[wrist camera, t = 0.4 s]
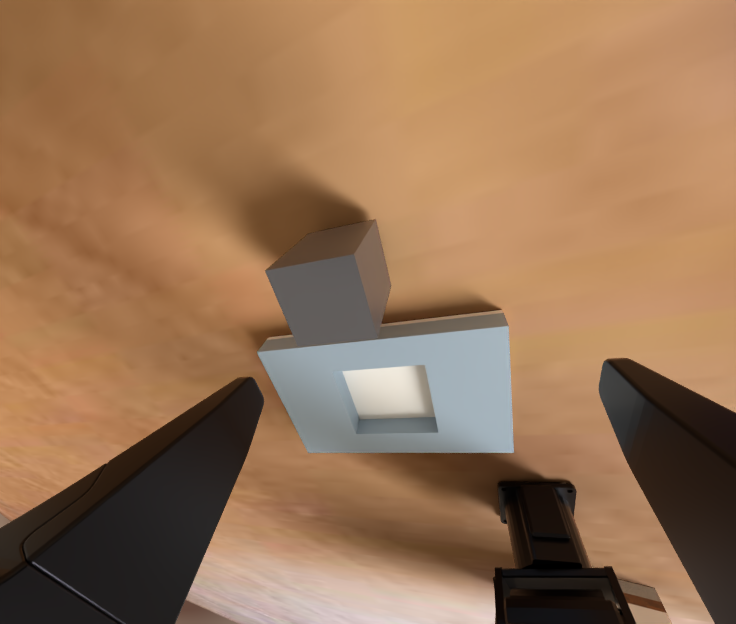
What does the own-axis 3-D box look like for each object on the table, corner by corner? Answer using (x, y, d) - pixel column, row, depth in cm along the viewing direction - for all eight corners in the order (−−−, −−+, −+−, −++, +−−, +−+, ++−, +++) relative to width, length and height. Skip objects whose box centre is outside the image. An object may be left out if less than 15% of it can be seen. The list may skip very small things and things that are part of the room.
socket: (508, 431, 26) (513, 452, 24) (314, 435, 31) (308, 452, 29) (502, 309, 21) (508, 326, 19) (268, 337, 26) (256, 352, 24)
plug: (392, 280, 21) (377, 338, 15) (332, 289, 22) (297, 346, 16) (377, 215, 19) (353, 254, 13) (312, 229, 20) (265, 270, 14)
